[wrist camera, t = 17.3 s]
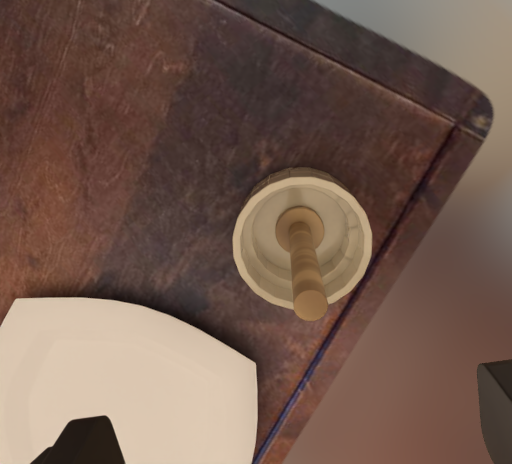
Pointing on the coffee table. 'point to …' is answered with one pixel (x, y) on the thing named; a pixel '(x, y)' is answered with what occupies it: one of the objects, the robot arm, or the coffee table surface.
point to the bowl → (328, 252)
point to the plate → (123, 383)
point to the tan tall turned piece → (303, 259)
